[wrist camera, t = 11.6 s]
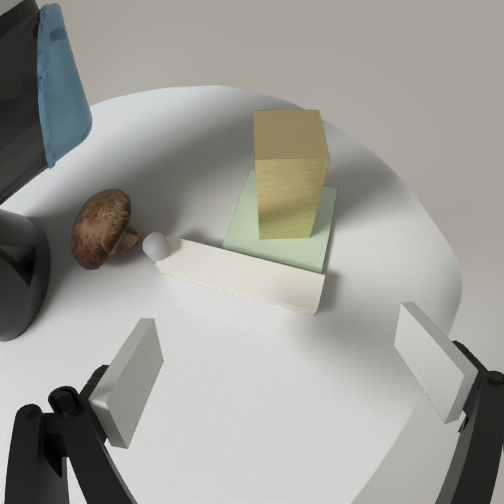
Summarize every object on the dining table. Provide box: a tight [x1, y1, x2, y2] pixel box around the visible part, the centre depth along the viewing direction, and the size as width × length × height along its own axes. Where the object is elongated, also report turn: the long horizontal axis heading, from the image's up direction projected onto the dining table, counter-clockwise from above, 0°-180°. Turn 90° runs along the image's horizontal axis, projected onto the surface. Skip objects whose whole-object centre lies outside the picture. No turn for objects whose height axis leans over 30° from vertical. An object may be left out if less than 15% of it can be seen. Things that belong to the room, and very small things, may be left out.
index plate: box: [222, 169, 338, 274], centre depth 29 cm, size 9×9×1 cm
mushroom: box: [71, 189, 143, 270], centre depth 27 cm, size 8×8×6 cm
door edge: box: [143, 232, 325, 315], centre depth 26 cm, size 15×3×3 cm, turn 74°
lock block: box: [253, 110, 330, 240], centre depth 24 cm, size 4×4×11 cm
